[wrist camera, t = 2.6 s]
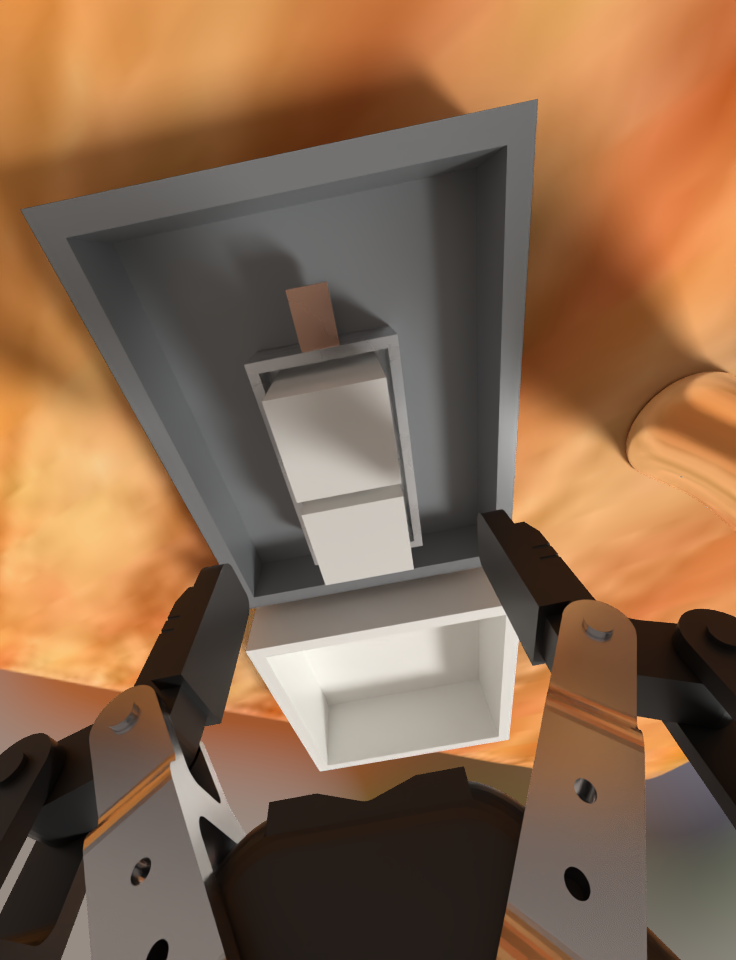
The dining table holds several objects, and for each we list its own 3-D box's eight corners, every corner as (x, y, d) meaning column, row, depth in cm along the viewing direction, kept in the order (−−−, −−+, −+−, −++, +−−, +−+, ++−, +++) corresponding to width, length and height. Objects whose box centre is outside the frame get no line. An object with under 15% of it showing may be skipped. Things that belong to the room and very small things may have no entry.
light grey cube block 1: (279, 370, 14) (261, 401, 11) (374, 351, 14) (386, 377, 11) (305, 454, 16) (297, 503, 13) (387, 438, 16) (401, 483, 13)
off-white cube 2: (308, 465, 17) (301, 515, 13) (389, 449, 17) (403, 496, 13) (327, 528, 19) (325, 585, 15) (399, 514, 19) (413, 569, 15)
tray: (91, 222, 12) (20, 209, 10) (491, 138, 12) (537, 98, 9) (256, 565, 22) (244, 609, 19) (486, 523, 21) (509, 561, 19)
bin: (262, 578, 22) (245, 651, 18) (486, 537, 22) (522, 602, 18) (322, 701, 31) (319, 771, 26) (484, 673, 30) (508, 739, 26)
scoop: (239, 298, 13) (222, 303, 11) (381, 268, 13) (389, 269, 11) (317, 534, 20) (315, 565, 18) (413, 516, 20) (422, 545, 18)
